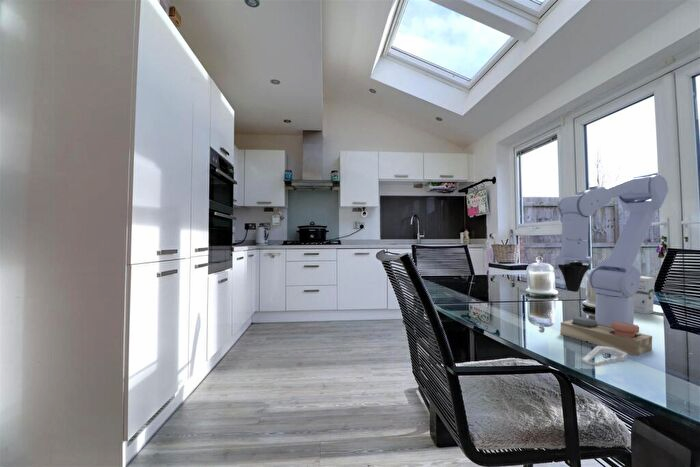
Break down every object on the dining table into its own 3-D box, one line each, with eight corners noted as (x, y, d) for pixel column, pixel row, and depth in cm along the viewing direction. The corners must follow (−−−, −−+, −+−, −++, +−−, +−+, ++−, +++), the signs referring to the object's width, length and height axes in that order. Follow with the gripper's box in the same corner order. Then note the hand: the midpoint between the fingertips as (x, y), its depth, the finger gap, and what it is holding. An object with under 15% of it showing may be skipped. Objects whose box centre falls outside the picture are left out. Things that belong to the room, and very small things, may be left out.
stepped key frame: (612, 377, 58) (612, 368, 58) (580, 367, 62) (580, 358, 62) (630, 357, 66) (630, 349, 66) (601, 349, 70) (601, 342, 70)
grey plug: (578, 330, 81) (578, 316, 81) (600, 335, 77) (600, 320, 76) (568, 332, 78) (568, 318, 78) (590, 338, 74) (590, 323, 74)
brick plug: (616, 336, 74) (616, 320, 74) (642, 342, 69) (643, 326, 69) (606, 339, 71) (606, 323, 71) (633, 346, 67) (633, 329, 67)
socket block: (576, 329, 82) (577, 318, 82) (651, 349, 69) (652, 336, 69) (560, 334, 79) (560, 322, 79) (636, 355, 65) (636, 341, 65)
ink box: (614, 308, 107) (615, 274, 107) (622, 306, 110) (622, 273, 109) (647, 314, 100) (648, 278, 99) (654, 312, 102) (655, 277, 102)
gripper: (577, 240, 75) (574, 295, 75) (605, 241, 82) (603, 292, 82) (547, 239, 81) (545, 290, 81) (576, 240, 88) (574, 287, 88)
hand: (572, 291), depth 82 cm, fingers closed
